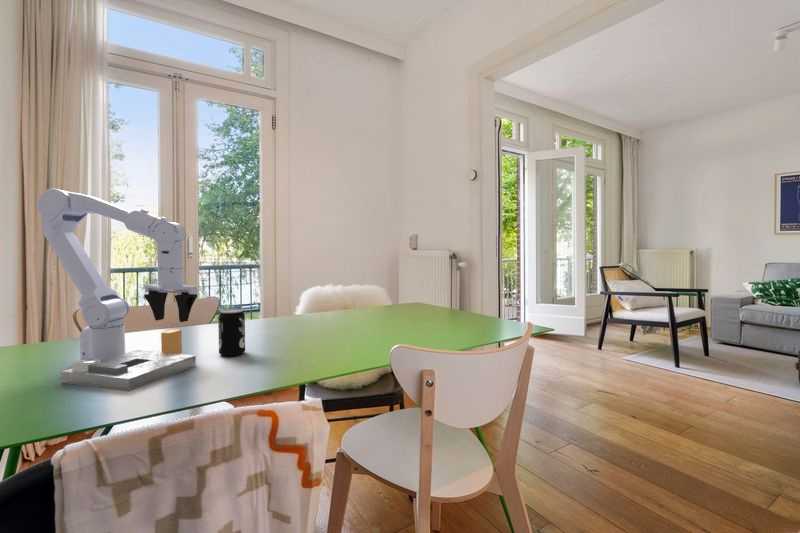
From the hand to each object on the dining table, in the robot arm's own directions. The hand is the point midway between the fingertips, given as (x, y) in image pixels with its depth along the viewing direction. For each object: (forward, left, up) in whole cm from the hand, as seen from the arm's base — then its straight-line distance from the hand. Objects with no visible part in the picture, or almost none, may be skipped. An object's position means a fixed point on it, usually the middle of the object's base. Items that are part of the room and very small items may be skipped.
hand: (171, 320), depth 103 cm
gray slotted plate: (+2, -13, -10) cm, 16 cm away
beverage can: (+13, +7, -10) cm, 18 cm away
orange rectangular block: (0, 0, -10) cm, 10 cm away
